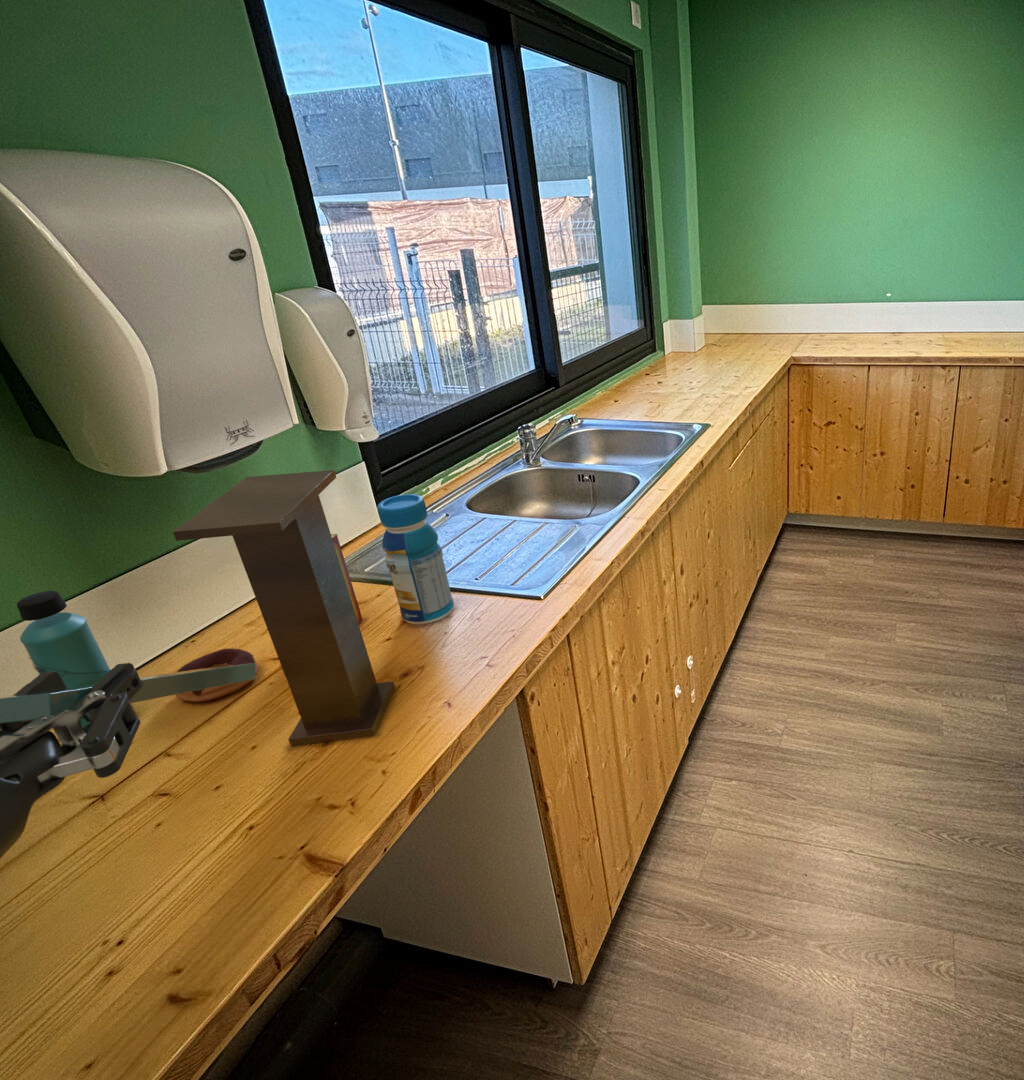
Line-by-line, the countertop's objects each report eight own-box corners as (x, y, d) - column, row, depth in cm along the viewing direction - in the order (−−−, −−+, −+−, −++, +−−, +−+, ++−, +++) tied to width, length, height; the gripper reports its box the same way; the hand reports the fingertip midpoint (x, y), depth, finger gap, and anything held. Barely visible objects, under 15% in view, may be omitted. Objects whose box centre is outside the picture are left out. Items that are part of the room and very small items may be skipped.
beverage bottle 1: (112, 708, 96) (46, 580, 87) (148, 715, 94) (85, 586, 86) (61, 739, 90) (-15, 607, 82) (98, 748, 89) (25, 613, 80)
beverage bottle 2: (452, 622, 113) (424, 508, 104) (396, 630, 111) (364, 515, 103) (458, 596, 120) (433, 488, 112) (406, 603, 119) (377, 494, 110)
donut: (260, 656, 106) (251, 634, 104) (262, 689, 99) (253, 666, 97) (180, 680, 101) (169, 657, 100) (176, 716, 94) (164, 693, 92)
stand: (322, 692, 97) (246, 476, 84) (397, 683, 99) (334, 469, 85) (273, 775, 83) (172, 531, 69) (361, 764, 84) (279, 522, 70)
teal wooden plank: (208, 684, 68) (207, 667, 68) (256, 679, 69) (255, 662, 69) (-26, 726, 44) (-27, 701, 44) (50, 718, 45) (50, 693, 45)
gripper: (-234, 943, 37) (12, 729, 52) (61, 900, 39) (216, 705, 54) (-331, 841, 34) (-38, 645, 49) (-4, 799, 35) (180, 622, 51)
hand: (94, 677), depth 51 cm, fingers closed on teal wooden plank, 4 cm apart
